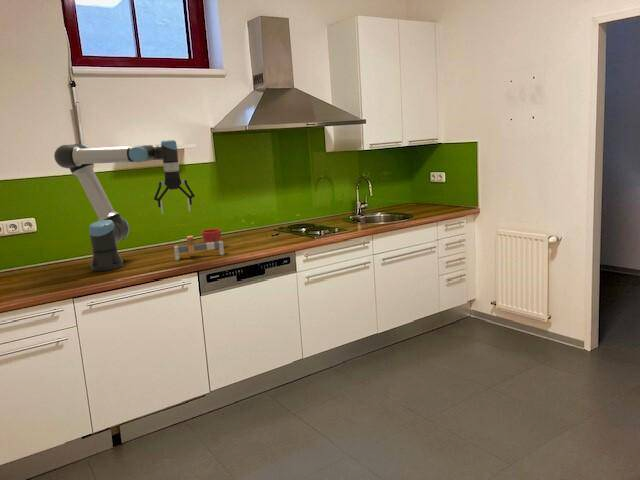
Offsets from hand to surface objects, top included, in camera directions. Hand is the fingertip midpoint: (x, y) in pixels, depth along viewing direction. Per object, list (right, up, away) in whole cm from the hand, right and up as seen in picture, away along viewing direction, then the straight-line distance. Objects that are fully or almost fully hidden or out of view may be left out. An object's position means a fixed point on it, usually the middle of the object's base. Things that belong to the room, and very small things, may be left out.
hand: (176, 212), depth 275 cm
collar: (+7, -22, +5) cm, 23 cm away
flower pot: (+13, -19, +28) cm, 36 cm away
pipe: (+11, -23, +6) cm, 26 cm away
